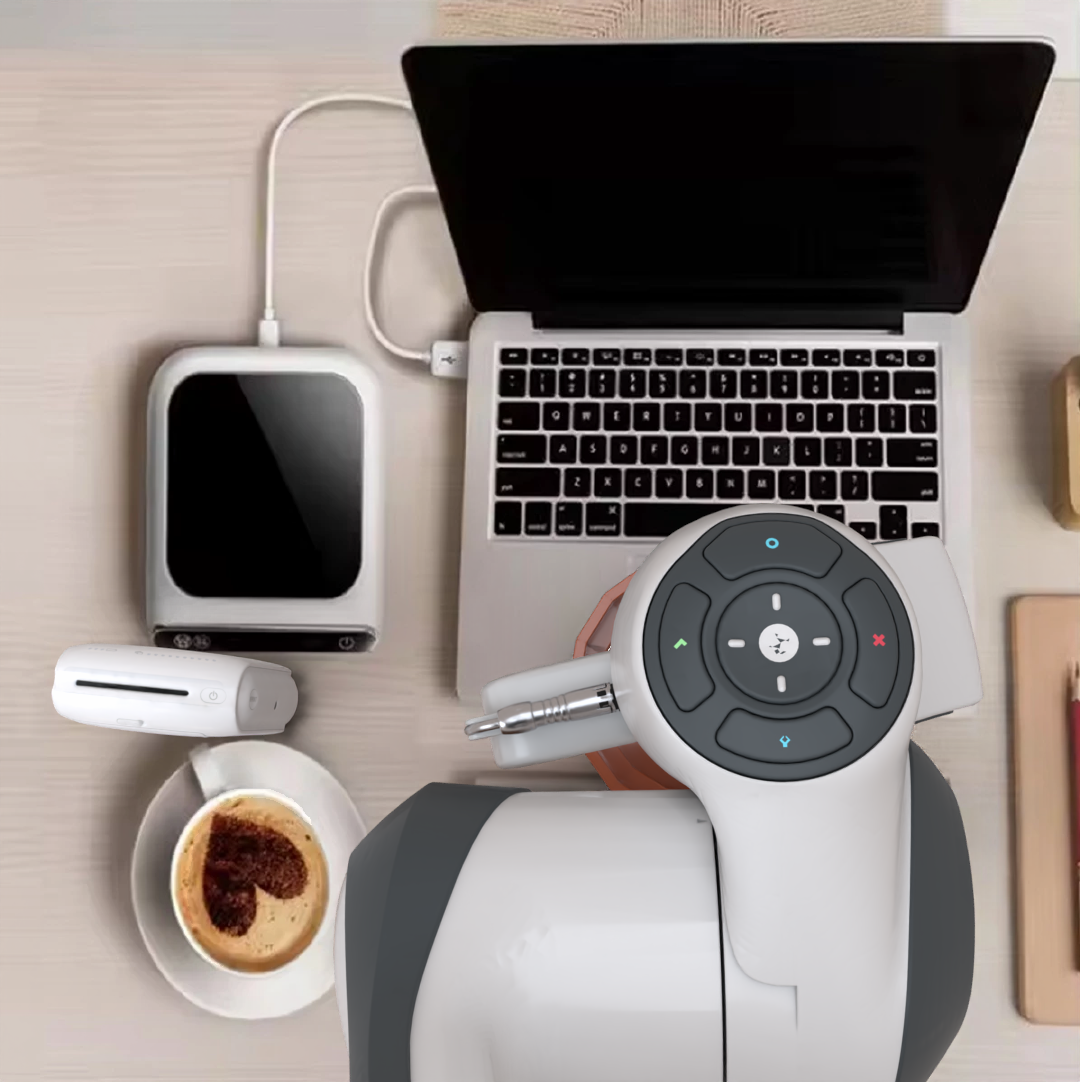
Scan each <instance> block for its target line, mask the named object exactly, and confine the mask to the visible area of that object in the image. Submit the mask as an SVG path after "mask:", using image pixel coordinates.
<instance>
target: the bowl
mask: <svg viewBox="0 0 1080 1082" xmlns="http://www.w3.org/2000/svg"><path fill="white" fill-rule="evenodd" d="M637 570H638V569H636V570H635V571H634V572H632V573H631V574H629V575H628V576H627V577H625V578H624V579H622V580H621V581H620V582H618V583H617V584H615V585H614V586H612V587H611V588H610V589H608V590H607V591H605V593H604V594H603V595H602V596H601V598H600V599H599V601H598V603H597V605H596V606H595V608H594V609H593V611H592V612H591V614H590V616H589V618H588V619H587V620H586V622H585V624H584V625H583V627H582V628H581V630H580V632H579V633H578V635H577V636H576V639H575V642H574V649H573V655H572V659H574V658H579V657H583V656H587V655H592V654H596V653H600V652H605V651H608V649H609V648H610V646H611V638H612V632H613V626H614V622H615V618H616V615H617V612H618V609H619V605H620V603H621V600H622V598H623V595H624V593H625V591H626V589H627V587H628V585H629V583H630V581H631V580H632V578H633V576H634V575H635V573H636V571H637ZM584 756H585V757H586V758H587V759H588V761H589V762H590V764H591V765H592V767H593V768H594V770H596V772H597V773H598V775H599V777H600V778H601V779H602V781H603V782H604V783H605V785H606V786H607V788H608V790H609V791H624V790H687V789H690V788H689V787H687V786H686V785H684V784H683V783H681V782H679V781H678V780H676V779H675V778H673V777H672V776H671V775H669V774H668V773H667V772H666V771H664V770H663V769H662V768H661V767H660V766H659V765H657V764H656V763H655V762H654V761H653V760H652V759H651V758H650V756H649V755H648V754H647V753H646V752H645V751H644V750H643V749H642V747H641V746H640V745H639V743H638V742H634V743H630V744H626V745H621V746H617V747H612V748H608V749H603V750H599V751H595V752H590V753H586V754H584Z"/></svg>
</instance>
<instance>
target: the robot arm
mask: <svg viewBox="0 0 1080 1082" xmlns="http://www.w3.org/2000/svg"><path fill="white" fill-rule="evenodd" d="M636 570H637V571H636ZM636 570H635V571H636V573H635V575H634V576H633V578H632V580H631V581H630V583H629V585H628V587H627V589H626V591H625V593H624V595H623V598H622V600H621V603H620V605H619V609H618V612H617V615H616V618H615V622H614V626H613V632H612V638H611V648H610V650H609V651H605V652H600V653H596V654H592V655H587V656H583V657H579V658H574V659H573V658H570V659H565V660H561V661H558V662H552V663H548V664H545V665H539V666H535V667H531V668H527V669H524V670H520V671H516V672H513V673H510V674H506V675H503V676H501V677H498V678H495V679H493V680H490V681H488V682H487V683H486V684H484V685H483V686H482V688H481V690H480V700H481V705H482V710H483V714H484V715H481V716H476V717H473V718H469V719H466V720H465V721H464V725H465V727H464V729H463V733H464V734H465V735H466V736H467V737H468V741H470V742H473V741H479V740H484V739H489V742H490V743H489V744H490V747H491V751H492V755H493V759H494V764H495V765H496V766H497V768H499V769H501V770H510V769H521V768H526V767H533V766H537V765H540V764H545V763H549V762H554V761H555V762H556V761H559V760H563V759H567V758H573V757H576V756H577V757H578V756H580V755H585V754H586V753H590V752H595V751H599V750H603V749H608V748H612V747H617V746H621V745H626V744H630V743H634V742H638V743H639V745H640V746H641V747H642V749H643V750H644V751H645V752H646V753H647V754H648V755H649V756H650V758H651V759H652V760H653V761H654V762H655V763H656V764H657V765H659V766H660V767H661V768H662V769H663V770H664V771H666V772H667V773H668V774H669V775H671V776H672V777H673V778H675V779H676V780H678V781H679V782H681V783H683V784H684V785H686V786H687V787H689V788H690V789H687V790H624V791H611V790H574V791H573V790H571V791H570V790H567V791H566V790H565V791H532V790H531V789H529V788H525V787H517V786H516V787H515V786H500V785H499V786H498V785H483V784H467V783H456V782H455V783H453V782H441V781H432V782H428V783H426V784H425V785H424V786H422V787H421V788H420V789H418V790H417V791H416V792H414V793H413V794H412V795H410V796H409V797H407V798H406V799H405V800H404V801H402V802H401V803H400V804H399V805H398V806H397V807H396V808H394V809H393V810H392V811H390V812H389V813H388V814H387V815H386V816H385V817H384V818H383V819H382V820H381V821H379V822H378V823H377V824H376V825H375V826H374V827H373V828H372V829H371V830H370V831H369V832H368V833H367V834H366V835H365V836H364V837H363V838H362V840H360V842H359V843H358V844H357V845H356V847H355V848H354V849H353V850H352V851H351V852H350V855H349V858H348V861H347V868H346V872H345V876H344V878H343V880H342V884H341V887H340V891H339V894H338V900H337V903H336V910H335V916H334V918H335V919H334V925H333V926H334V928H333V943H332V944H333V945H332V953H333V956H332V958H333V977H334V978H333V979H334V987H335V988H334V989H335V996H336V1003H337V1009H338V1015H339V1021H340V1025H341V1030H342V1036H343V1039H344V1043H345V1046H346V1047H345V1048H346V1052H347V1056H348V1063H349V1064H348V1067H349V1071H348V1072H349V1082H927V1081H928V1080H929V1079H930V1077H931V1076H932V1074H933V1073H934V1071H935V1070H936V1068H937V1067H938V1066H939V1064H940V1063H941V1061H942V1060H943V1059H944V1057H945V1055H946V1053H947V1052H948V1050H949V1049H950V1047H951V1045H952V1043H953V1042H954V1040H955V1039H956V1037H957V1035H958V1033H959V1032H960V1030H961V1027H962V1026H963V1024H964V1021H965V1019H966V1015H967V1012H968V1008H969V1005H970V1000H971V997H972V996H971V995H972V991H973V990H972V989H973V981H974V974H975V973H974V972H975V956H976V955H975V953H976V952H975V950H976V949H975V948H976V915H975V913H976V909H975V896H974V894H975V893H974V881H973V875H972V868H971V866H972V865H971V860H970V853H969V847H968V842H967V836H966V835H967V834H966V831H965V826H964V820H963V817H962V813H961V809H960V806H959V802H958V800H957V799H958V798H957V797H956V795H955V792H954V790H953V789H952V787H951V785H950V784H949V782H948V781H947V779H946V778H945V776H944V775H943V773H942V772H941V770H940V769H939V768H938V767H937V765H936V764H935V763H934V761H933V760H932V759H931V758H930V757H929V755H928V754H927V753H926V752H925V751H924V749H923V748H921V746H919V745H918V744H917V743H916V742H915V741H914V740H913V739H912V738H911V736H912V733H913V730H914V727H915V725H917V724H920V723H923V722H924V723H925V722H927V721H930V720H933V719H937V718H940V717H943V716H947V715H950V714H954V711H957V710H960V709H965V708H969V707H973V706H975V705H977V704H978V703H980V702H981V701H982V700H983V698H984V687H983V680H982V673H981V665H980V660H979V654H978V649H977V645H976V640H975V635H974V634H975V633H974V631H973V626H972V622H971V618H970V615H969V611H968V608H967V604H966V600H965V598H964V595H963V592H962V588H961V585H960V583H959V579H958V576H957V574H956V572H955V569H954V566H953V563H952V561H951V558H950V556H949V554H948V552H947V549H946V547H945V543H944V542H943V540H942V539H941V538H940V537H938V536H934V535H933V536H932V535H925V536H919V537H914V538H909V539H908V538H907V537H901V538H895V539H888V540H883V541H876V542H870V541H869V540H868V539H867V538H866V537H864V536H863V535H862V534H860V533H859V532H857V531H856V530H855V529H853V528H852V527H850V526H849V525H846V524H845V523H843V522H841V521H839V520H837V519H835V518H832V517H830V516H827V515H826V514H823V513H819V512H816V511H813V510H810V509H807V508H803V507H799V506H794V505H790V504H781V503H775V502H771V503H769V502H758V503H749V504H747V503H746V504H739V505H736V506H732V507H728V508H724V509H721V510H718V511H716V512H712V513H710V514H707V515H705V516H702V517H700V518H698V519H697V520H694V521H692V522H690V523H688V524H686V525H683V526H682V527H680V528H679V529H677V530H675V531H674V532H672V533H671V534H670V535H668V536H667V537H665V538H663V540H661V542H659V544H657V545H656V546H655V547H654V549H652V551H651V552H650V553H649V554H648V555H647V556H646V557H645V559H644V560H643V561H642V563H641V564H640V565H639V567H638V568H637V569H636Z"/></svg>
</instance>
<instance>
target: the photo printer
mask: <svg viewBox="0 0 1080 1082" xmlns="http://www.w3.org/2000/svg"><path fill="white" fill-rule="evenodd" d="M292 672H293V671H292V670H291V669H290V668H289V667H286V666H283V665H281V664H277V663H274V662H270V661H264V660H259V659H254V658H248V657H241V656H235V655H229V654H221V653H213V652H204V651H197V650H196V651H195V650H187V649H179V648H171V647H170V648H168V647H158V646H148V645H135V644H120V643H104V642H93V643H92V642H91V643H82V644H76V645H71V646H68V647H67V648H65V649H64V650H63V652H62V653H61V654H60V656H59V657H58V660H57V661H56V665H55V668H54V680H53V686H52V688H51V692H50V693H51V699H52V700H51V701H52V703H53V706H54V709H55V711H56V712H57V713H58V715H59V716H61V717H64V718H66V719H67V720H71V721H73V722H76V723H79V724H83V725H86V726H87V725H88V726H93V727H99V728H106V729H114V730H121V731H128V732H129V731H130V732H136V733H137V732H138V733H146V734H155V735H156V734H158V735H167V736H168V735H169V736H178V737H179V736H180V737H193V738H194V737H195V738H196V737H198V738H214V737H215V738H221V737H222V738H223V737H239V736H240V737H241V736H262V735H263V736H265V735H275V734H276V735H277V734H281V733H283V732H284V731H285V727H286V725H287V724H288V723H289V722H290V721H291V720H292V718H293V717H294V715H295V713H296V710H297V708H298V703H299V690H298V687H297V685H296V681H295V680H294V678H293V677H292Z"/></svg>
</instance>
